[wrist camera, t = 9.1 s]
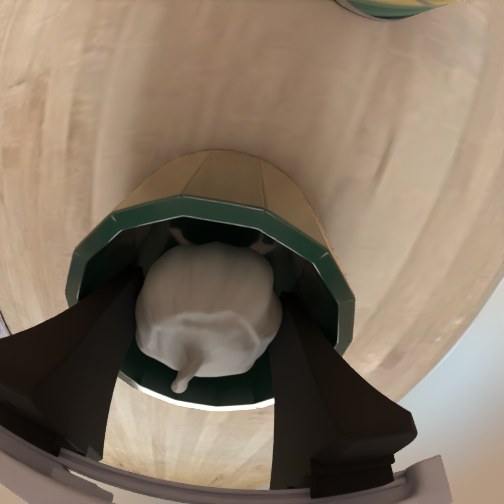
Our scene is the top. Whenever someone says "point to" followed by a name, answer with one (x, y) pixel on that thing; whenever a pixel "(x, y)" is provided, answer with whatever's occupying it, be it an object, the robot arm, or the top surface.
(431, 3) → the spray bottle
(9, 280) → the top surface
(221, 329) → the garlic
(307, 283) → the pot
